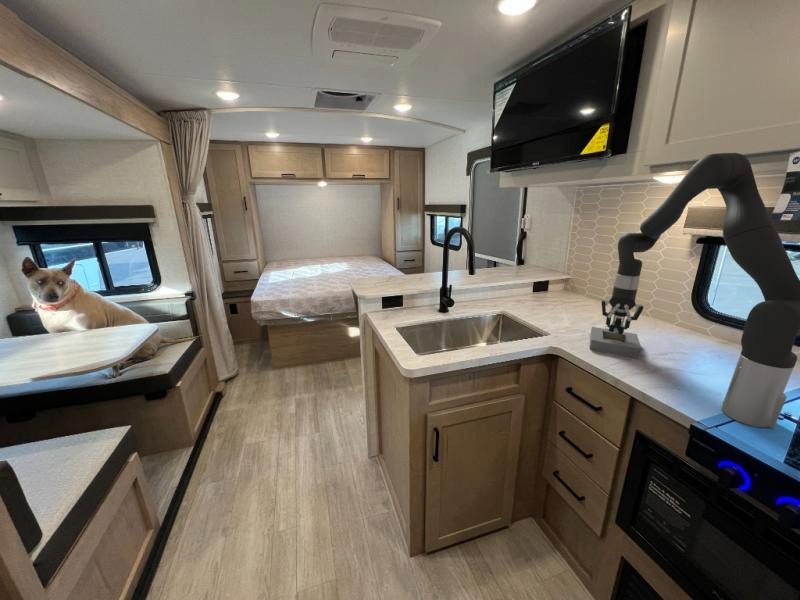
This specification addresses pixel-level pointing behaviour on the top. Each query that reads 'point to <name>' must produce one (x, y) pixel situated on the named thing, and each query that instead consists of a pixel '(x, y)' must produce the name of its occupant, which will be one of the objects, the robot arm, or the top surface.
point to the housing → (615, 342)
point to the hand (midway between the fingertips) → (616, 327)
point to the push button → (618, 322)
